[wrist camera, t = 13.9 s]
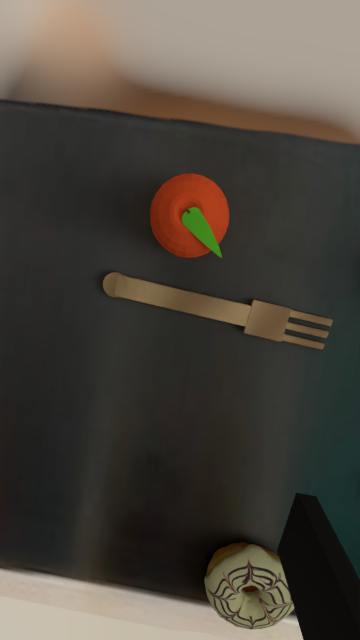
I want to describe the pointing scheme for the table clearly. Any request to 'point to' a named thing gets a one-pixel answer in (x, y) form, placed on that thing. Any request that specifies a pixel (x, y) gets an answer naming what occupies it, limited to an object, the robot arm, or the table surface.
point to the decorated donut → (248, 586)
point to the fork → (220, 309)
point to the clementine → (189, 216)
